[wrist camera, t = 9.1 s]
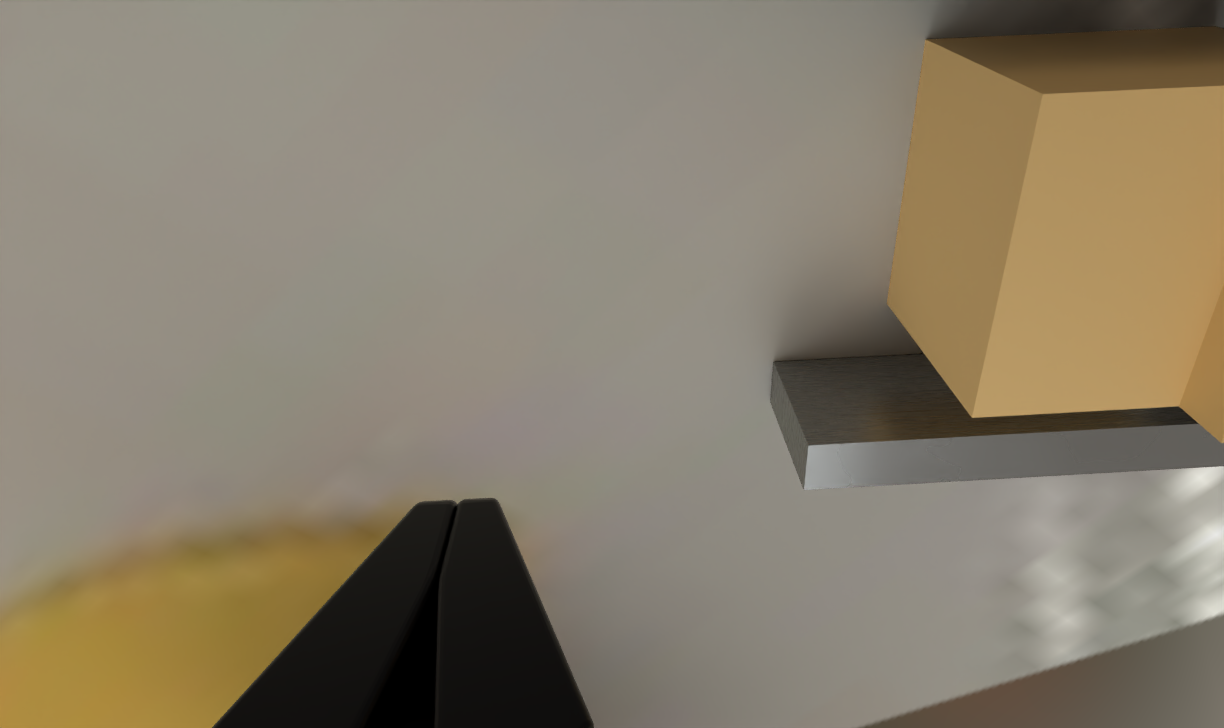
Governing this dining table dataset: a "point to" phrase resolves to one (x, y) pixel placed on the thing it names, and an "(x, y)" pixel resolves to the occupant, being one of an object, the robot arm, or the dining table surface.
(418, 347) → the dining table surface
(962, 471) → the bracket
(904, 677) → the dining table surface
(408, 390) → the dining table surface
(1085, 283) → the stepped block
